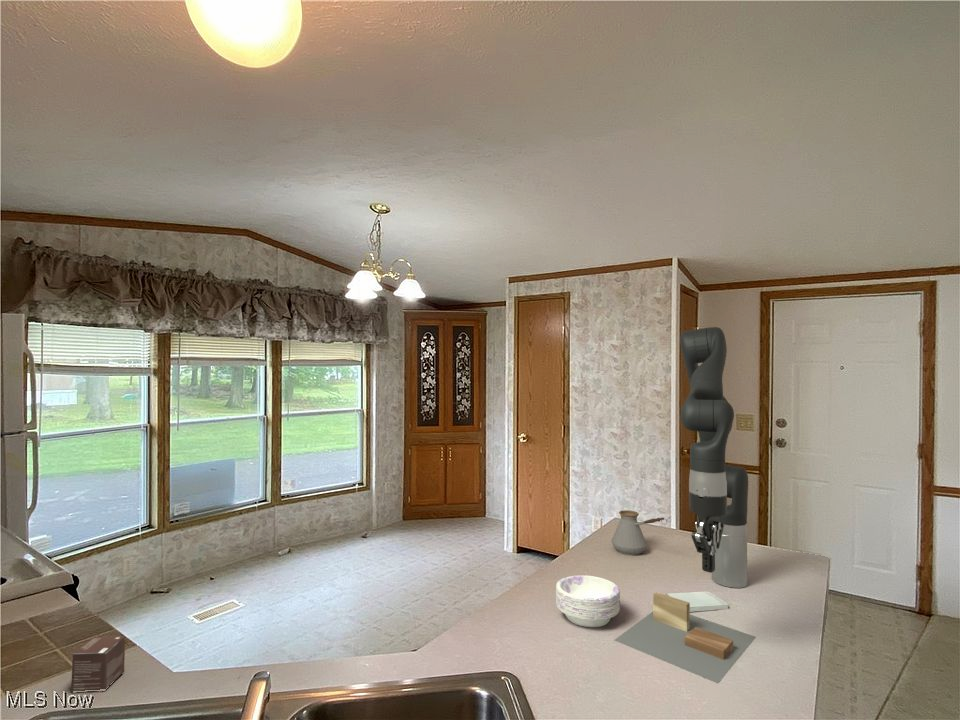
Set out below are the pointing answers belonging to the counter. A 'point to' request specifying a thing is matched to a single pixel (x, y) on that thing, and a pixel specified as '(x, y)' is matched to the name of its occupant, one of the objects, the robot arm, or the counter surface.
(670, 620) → the pale oak slab
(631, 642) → the rubber mat
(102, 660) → the box
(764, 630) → the counter surface
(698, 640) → the walnut slab
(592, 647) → the counter surface
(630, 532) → the coffee pot
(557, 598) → the paper bowls
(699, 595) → the hard drive
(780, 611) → the counter surface
